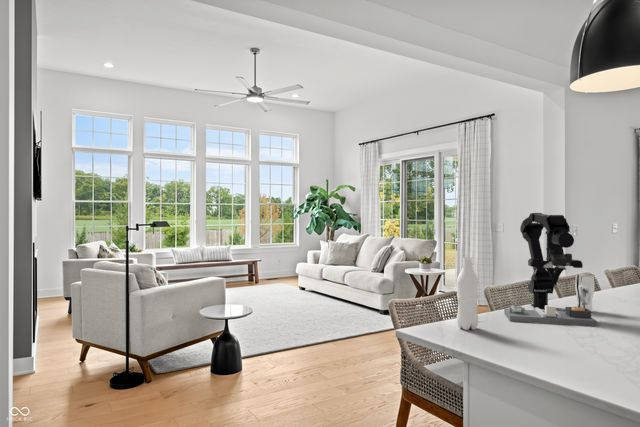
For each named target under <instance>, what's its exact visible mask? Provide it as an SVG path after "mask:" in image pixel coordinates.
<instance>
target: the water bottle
mask: <svg viewBox="0 0 640 427" xmlns="http://www.w3.org/2000/svg"><path fill="white" fill-rule="evenodd" d="M472 259H473V257H466V256H465V257H462V264H461V265H462V267H461V270H460V272H459V274H458V276H457V279H456V282H457V283H456V287H457V288H456V290H457V291H456V293H457V294H456V298H457V307H458V308H457V314H456V324H457V325H458V328H460V329H463V330H465V331H468V330H470V329H471V330H473V331H475V330H476V329H477V328H478V324H479V315H478V301H479V295H478V294H479V293H478V292H479V285H478V284H479V279H478V277H477V274H476V273H475V270H474V268H473V265H474V264H473V260H472Z"/></svg>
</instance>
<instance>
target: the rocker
mask: <svg viewBox="0 0 640 427" xmlns="http://www.w3.org/2000/svg"><path fill="white" fill-rule="evenodd" d="M510 307H512V309H522V307H523V306H519V305H511V306H510Z"/></svg>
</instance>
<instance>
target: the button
mask: <svg viewBox="0 0 640 427" xmlns="http://www.w3.org/2000/svg"><path fill="white" fill-rule="evenodd" d="M570 307H571V310H577V311H585V309H584V308H580V307H577V306H570Z"/></svg>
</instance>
